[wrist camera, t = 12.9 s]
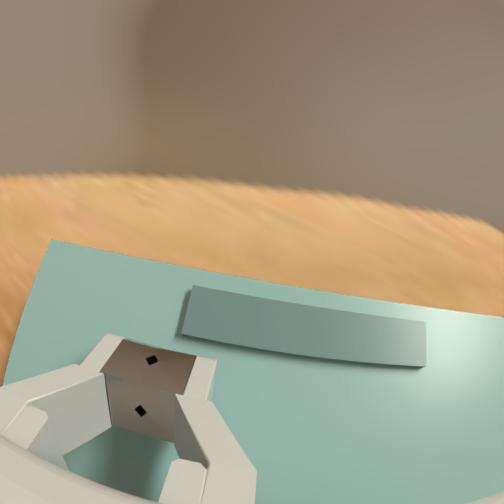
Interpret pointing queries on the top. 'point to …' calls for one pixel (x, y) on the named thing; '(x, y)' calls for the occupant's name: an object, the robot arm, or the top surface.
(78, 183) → the top surface
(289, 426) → the lid
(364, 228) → the top surface
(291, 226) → the top surface
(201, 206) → the top surface
